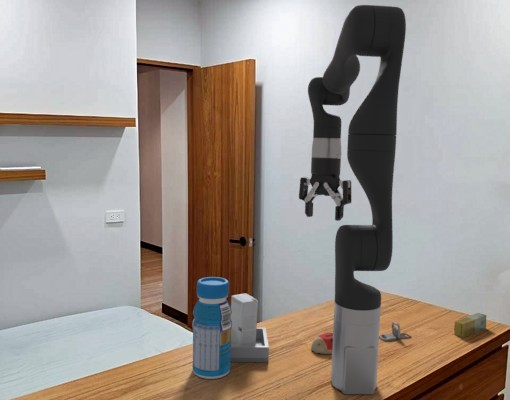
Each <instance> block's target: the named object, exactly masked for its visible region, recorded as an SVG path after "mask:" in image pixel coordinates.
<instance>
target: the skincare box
mask: <svg viewBox="0 0 510 400" xmlns="http://www.w3.org/2000/svg"><path fill="white" fill-rule="evenodd" d="M230 301H231V302H230V307H231V310H232V314H231V316H230V319H231V321H232V328H231V345H232V346H256V329H257V328H258V313H259V311H258V310H259V300H257V298H255V297H254V296H252V295H249V294H248V293H240V294H234V295H231V299H230Z"/></svg>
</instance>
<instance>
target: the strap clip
mask: <svg viewBox="0 0 510 400" xmlns="http://www.w3.org/2000/svg"><path fill="white" fill-rule="evenodd" d="M396 326H397V327H396ZM411 338H412V336H411V335H410V334H408V333H404V332H402V333H401V326H400V324H399V323H398V322H396V321H392V323H391V333H383V334H379V340H382V341H384V342H392V341H397V339H398V340H407V339H411Z"/></svg>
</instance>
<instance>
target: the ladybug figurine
mask: <svg viewBox="0 0 510 400" xmlns="http://www.w3.org/2000/svg"><path fill="white" fill-rule="evenodd" d="M310 345H311V347H310V349H311V351H312V352H314V353H317V354H319V353H320V354H321V355H332V347H333V332H326V333H322V334H320V335H318V336H316V337H315V338H314V339H313V341H312V343H311V344H310Z"/></svg>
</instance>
